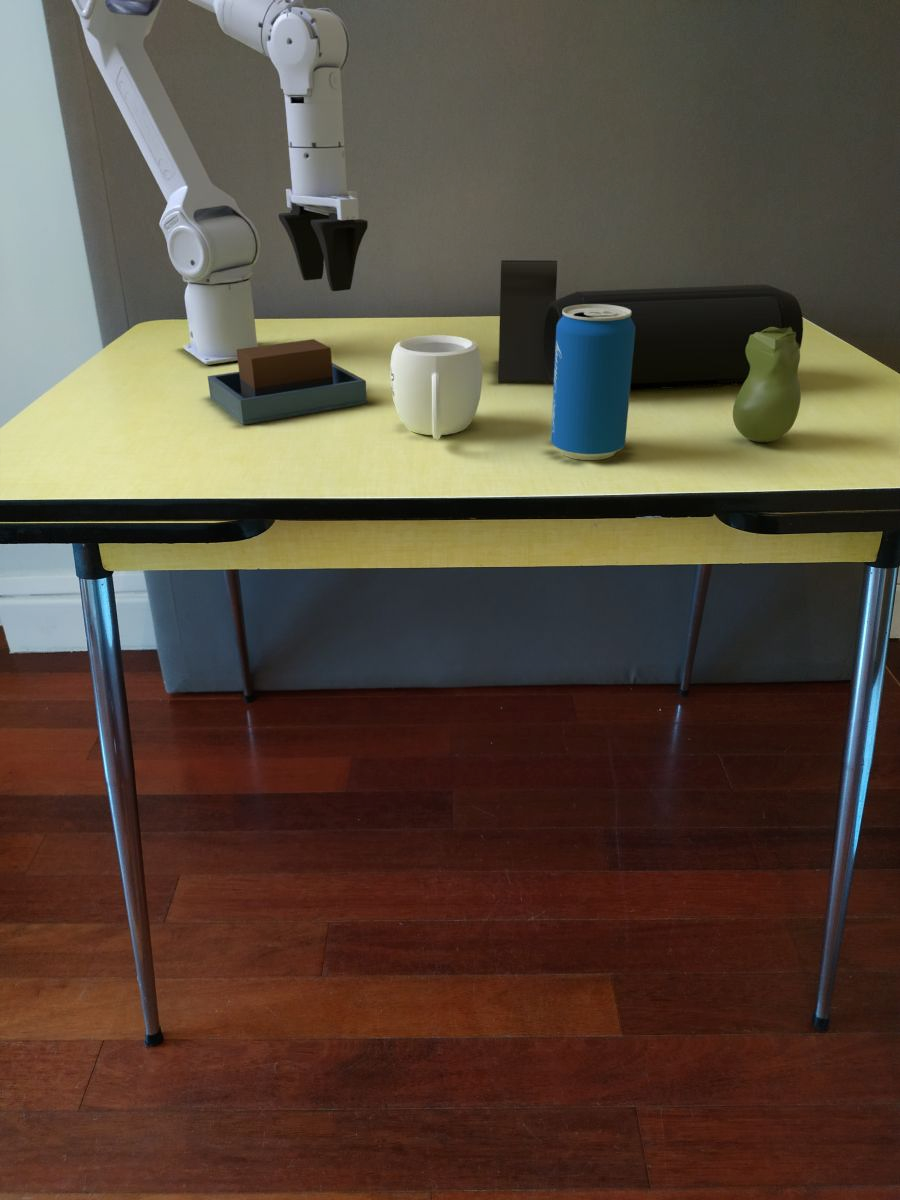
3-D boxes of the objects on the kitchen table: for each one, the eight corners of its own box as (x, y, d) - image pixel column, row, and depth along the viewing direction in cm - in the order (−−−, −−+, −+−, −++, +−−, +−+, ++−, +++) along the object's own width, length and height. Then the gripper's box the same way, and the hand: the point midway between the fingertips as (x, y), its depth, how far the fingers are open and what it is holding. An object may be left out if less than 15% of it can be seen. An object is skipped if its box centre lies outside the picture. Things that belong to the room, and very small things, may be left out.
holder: (210, 398, 95) (207, 376, 94) (326, 380, 101) (325, 358, 100) (243, 425, 87) (240, 400, 86) (367, 403, 93) (366, 380, 92)
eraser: (242, 398, 94) (236, 349, 91) (317, 386, 97) (313, 338, 95) (257, 409, 90) (251, 358, 88) (334, 396, 94) (331, 347, 92)
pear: (804, 446, 81) (826, 332, 76) (754, 453, 79) (773, 337, 74) (764, 427, 86) (782, 318, 81) (716, 434, 84) (732, 323, 79)
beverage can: (544, 439, 83) (550, 303, 77) (614, 437, 83) (625, 302, 78) (557, 464, 77) (565, 320, 71) (632, 461, 78) (646, 318, 72)
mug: (394, 414, 90) (391, 333, 86) (479, 413, 90) (480, 332, 86) (388, 456, 79) (384, 366, 76) (485, 455, 79) (486, 365, 76)
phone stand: (552, 384, 99) (558, 268, 93) (497, 383, 99) (499, 268, 93) (551, 363, 107) (556, 254, 101) (500, 362, 107) (502, 254, 101)
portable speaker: (755, 367, 104) (770, 276, 99) (797, 391, 96) (815, 293, 91) (538, 378, 101) (542, 284, 96) (562, 404, 92) (568, 303, 87)
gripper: (383, 148, 90) (388, 291, 96) (324, 143, 101) (332, 271, 107) (317, 150, 87) (327, 298, 93) (263, 145, 98) (276, 277, 104)
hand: (326, 284), depth 100 cm, fingers open, 7 cm apart
